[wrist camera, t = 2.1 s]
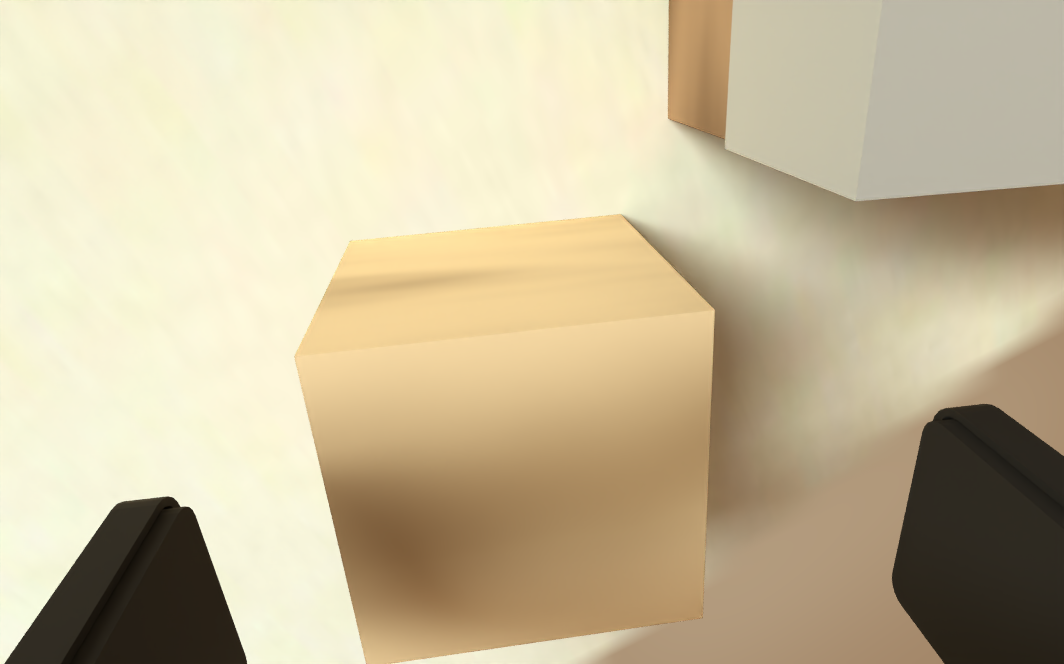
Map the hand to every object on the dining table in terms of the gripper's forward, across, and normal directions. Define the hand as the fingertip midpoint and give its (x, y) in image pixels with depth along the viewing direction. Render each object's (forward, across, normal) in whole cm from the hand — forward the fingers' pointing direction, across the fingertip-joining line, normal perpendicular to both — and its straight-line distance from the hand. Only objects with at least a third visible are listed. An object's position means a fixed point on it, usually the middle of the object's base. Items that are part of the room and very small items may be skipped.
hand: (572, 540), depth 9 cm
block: (+8, +1, +1) cm, 8 cm away
